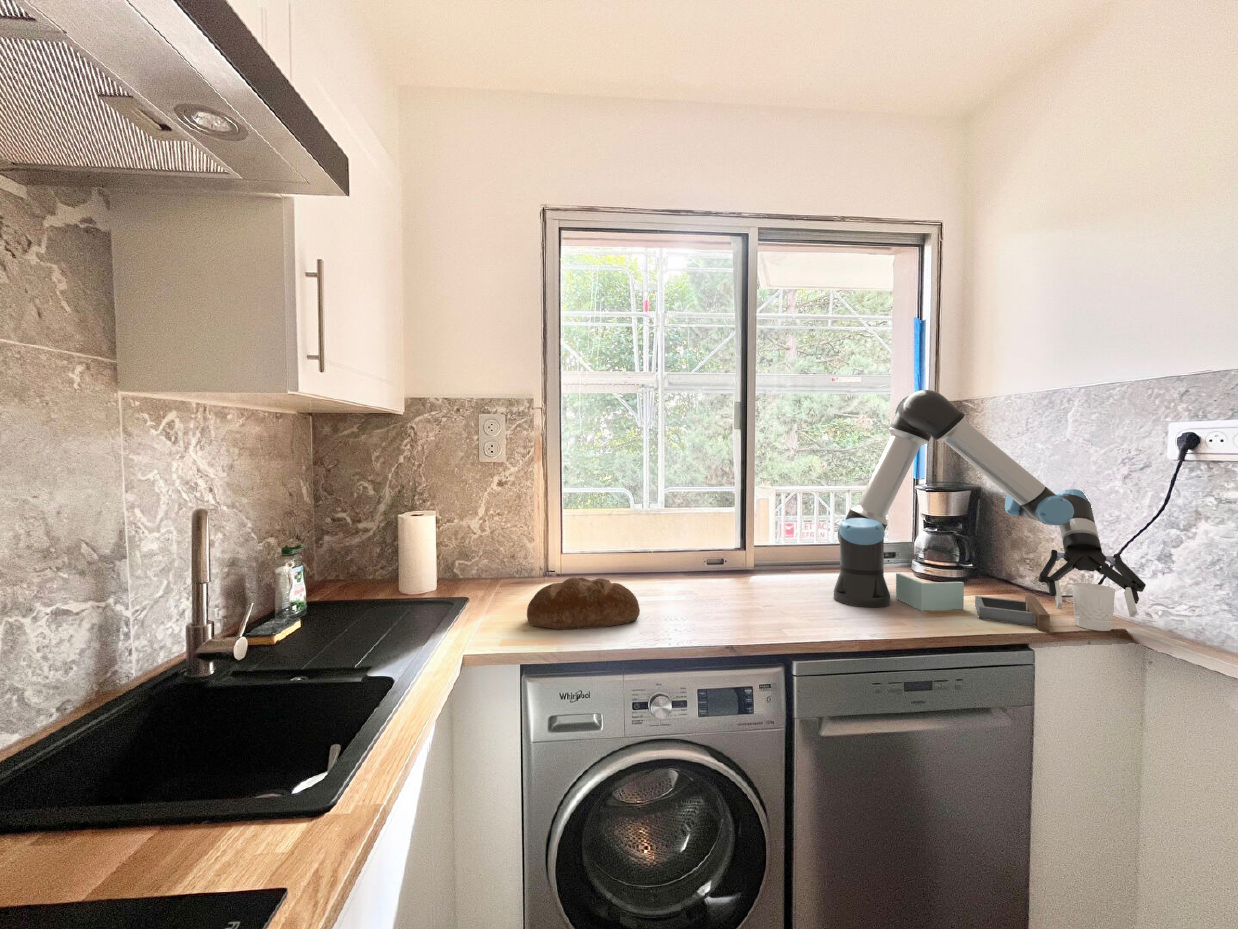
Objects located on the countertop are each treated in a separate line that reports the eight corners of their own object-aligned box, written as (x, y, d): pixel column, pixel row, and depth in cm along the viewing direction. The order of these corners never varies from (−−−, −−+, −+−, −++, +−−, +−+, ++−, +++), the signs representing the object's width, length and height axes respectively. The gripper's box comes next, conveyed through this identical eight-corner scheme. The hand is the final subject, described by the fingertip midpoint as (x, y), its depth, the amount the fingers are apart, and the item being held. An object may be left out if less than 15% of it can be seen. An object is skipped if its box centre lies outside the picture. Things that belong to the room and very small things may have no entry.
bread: (527, 615, 143) (526, 573, 142) (633, 609, 147) (633, 569, 147) (526, 635, 127) (526, 588, 127) (645, 627, 132) (644, 582, 132)
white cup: (1123, 633, 125) (1123, 591, 125) (1084, 631, 127) (1085, 590, 127) (1100, 622, 133) (1100, 583, 133) (1064, 621, 135) (1064, 582, 134)
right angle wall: (963, 609, 145) (963, 582, 145) (921, 610, 144) (921, 583, 144) (935, 597, 157) (935, 572, 157) (896, 598, 156) (896, 573, 156)
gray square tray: (979, 619, 136) (979, 607, 136) (975, 606, 147) (975, 595, 147) (1036, 626, 131) (1036, 613, 131) (1027, 612, 141) (1027, 601, 141)
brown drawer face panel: (1039, 630, 127) (1039, 614, 127) (1025, 609, 145) (1025, 594, 145) (1049, 632, 126) (1049, 615, 126) (1034, 610, 144) (1034, 595, 144)
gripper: (1140, 551, 137) (1162, 625, 124) (1020, 544, 149) (1029, 610, 137) (1148, 534, 132) (1171, 609, 119) (1023, 527, 145) (1033, 595, 132)
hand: (1095, 610), depth 128 cm, fingers open, 13 cm apart
